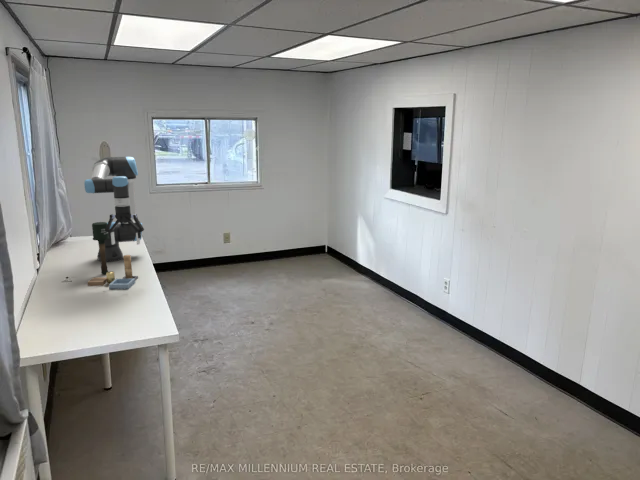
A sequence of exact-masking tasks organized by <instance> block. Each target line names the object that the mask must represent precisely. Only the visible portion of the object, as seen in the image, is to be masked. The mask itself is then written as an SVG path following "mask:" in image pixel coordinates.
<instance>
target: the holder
mask: <svg viewBox="0 0 640 480" xmlns="http://www.w3.org/2000/svg"><path fill="white" fill-rule="evenodd" d="M132 276H133V279H135V281H137V280H138V279H139V276H138V275H132ZM121 279H126V276H125V275H124V276H123V277H122V278H121Z"/></svg>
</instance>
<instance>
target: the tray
mask: <svg viewBox="0 0 640 480" xmlns="http://www.w3.org/2000/svg"><path fill="white" fill-rule="evenodd" d="M135 284H136V280H135V279H134V278H133V279H122V278H115V280H114V281H113V282H111V283H110V284H108V289H109V290H129V289H131V288H132V286H134V285H135Z"/></svg>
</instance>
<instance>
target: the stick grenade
mask: <svg viewBox="0 0 640 480" xmlns="http://www.w3.org/2000/svg"><path fill="white" fill-rule="evenodd" d="M106 226H107V222H106V221H99V222H93V223H92V224H91V229H92V240H93V241H97V243H98V244H97V245H98V251H99V250H100V257H101V261H100V268H101V269H100V273H101V275H102V276H105V275H106V272H109V269H108V265H107V262H106V256H105V240H106V239H109V236H108V232H106V231H105V229H106Z"/></svg>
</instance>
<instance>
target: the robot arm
mask: <svg viewBox="0 0 640 480" xmlns="http://www.w3.org/2000/svg"><path fill="white" fill-rule="evenodd" d="M91 168H92V170H91V171H92V174H91V177H90V178H89V179H85V180H84V182H83V184H84V191H85V193H86V194H104V193H105V194H107V193H111V194H112V193H113V200H114V201H113V202H114V205H115V207H114V210H115V211H114V212H115V214H113V213H112V214H111V213H110V214H109V220H108V222H106V223H107V226H106V229H105V231H106V232H108V236H109V239H106V240H105V256H106V263H107V262H115V261H120V260H122V259H124V254H123V251H122V250H121V247H120V244H119V243H124V242H125V243H127V242H128V243H129V242H136V245H140V244H141V240H142V239H143V238H142V237H143V235H142V233H143V232H144V231H145V228H144V226H143V222H141V221H140V219H139V218H138V213H137V202H136V194H135V180H136V179H137V176H139V171H138V167H137V162H136V159H135V158H134V157H133V156H107V157H103V158H101V159H98V160H97V161H95V162H94V164H93V165H92V167H91ZM107 177H112V178H107ZM114 219H116V221H114ZM96 257H97V258H96V259H97V261H99V262H101V257H100V250H99V249H98V252H97V256H96Z"/></svg>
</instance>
